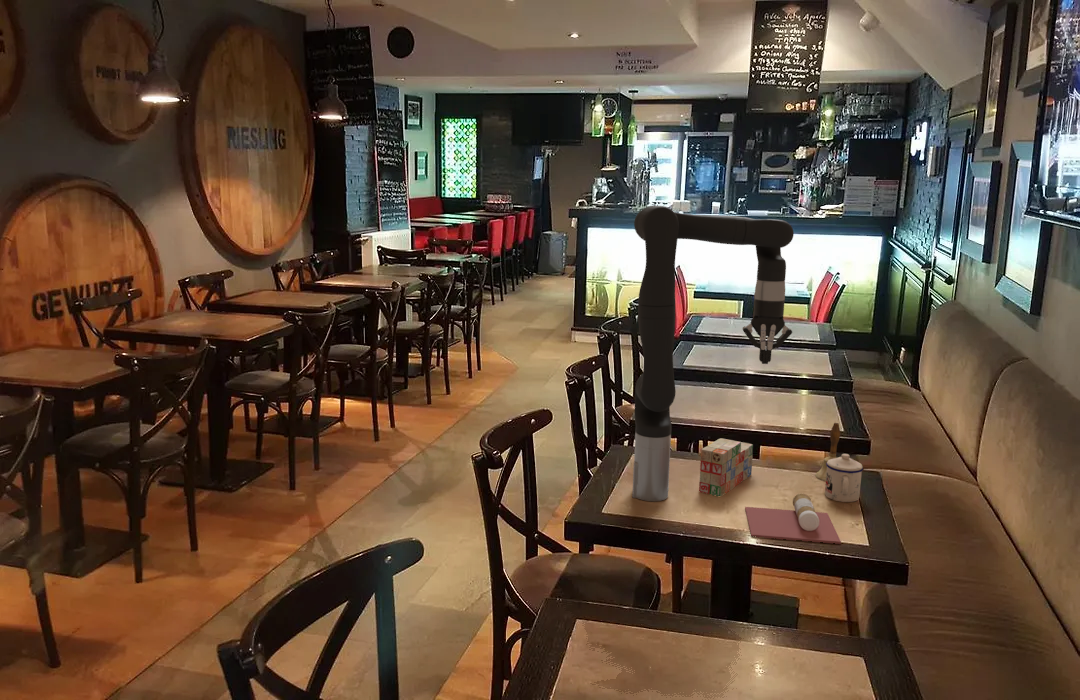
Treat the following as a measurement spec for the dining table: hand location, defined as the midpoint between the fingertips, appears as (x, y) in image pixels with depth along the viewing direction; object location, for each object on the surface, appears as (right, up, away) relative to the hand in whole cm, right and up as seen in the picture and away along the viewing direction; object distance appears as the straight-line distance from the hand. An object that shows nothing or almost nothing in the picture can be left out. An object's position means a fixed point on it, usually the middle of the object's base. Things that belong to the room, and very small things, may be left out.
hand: (764, 363), depth 211 cm
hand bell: (+23, -33, +17) cm, 44 cm away
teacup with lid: (+21, -36, +2) cm, 42 cm away
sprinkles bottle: (+7, -35, -8) cm, 36 cm away
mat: (+2, -39, -16) cm, 42 cm away
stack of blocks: (-8, -34, +11) cm, 36 cm away
